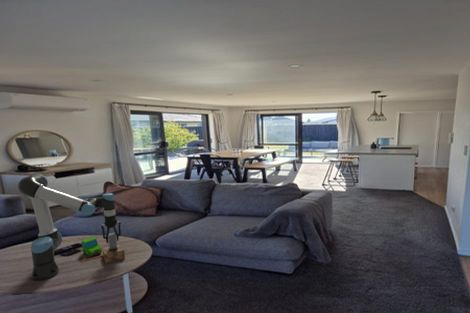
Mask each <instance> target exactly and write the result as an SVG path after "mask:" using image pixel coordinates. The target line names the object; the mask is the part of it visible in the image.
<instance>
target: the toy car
mask: <svg viewBox="0 0 470 313" xmlns="http://www.w3.org/2000/svg"><path fill="white" fill-rule="evenodd" d="M81 246H82V247H81V249H82V253H83V254H84V255H88V257H93V256H95V255H98V254H100V253H103V249H102V246H100V244H99V243H98V240H97V238H95V237H89V238H86V239H83V240H81Z"/></svg>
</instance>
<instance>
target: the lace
mask: <svg viewBox="0 0 470 313" xmlns="http://www.w3.org/2000/svg"><path fill="white" fill-rule="evenodd" d="M102 257H103V254H101V255H98V256H94V257H90V258H88V259H87V257H85V258H84V259H82V260H81V261H80V263H83V262H88V261H91V260H96V259H98V258H102Z"/></svg>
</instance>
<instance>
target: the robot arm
mask: <svg viewBox="0 0 470 313" xmlns="http://www.w3.org/2000/svg"><path fill="white" fill-rule="evenodd" d="M48 184H49V183H48V179H47V177H46V176H45V175H43V174H40V173H34V174H30V175H27V176H25V177H23V178H22V179H20V181H19V182H18V184H17V189H18V191H19V192H20V193H21V194H22V195H23V196H27V197H28V198H29V199H30V200H31V204H32V208H33V211H34V214H35V218H36V223H37V226H38V230H39V233H38V234H37V237H38V238H36V239H35V240H33V241H32V243H31V244H30V252H31V257H32V258H31V259H32V265H33V266H32V270H31V273H30V274H31V275H30V278H31V280H32V281H38V282H39V281H44V280H48V279H50V278H53V277H54V276H57V275H58V274H59V272H60V269H59V266H58V264H57V263H56V260H55V251H56V250H57V249H58V248H59V247H60V245H61V244H62V242H63V236H62V234H61V232H59V231H58V230H59V229H58V228H56V227H55V225H54V222H53V221H54V220H53V218H52V213H51V210H50V206H49V202H50V203H53V204H56V205H60V206H62V207H66V208H68V209H72V210H75V211H78V212H80V213H82V214H83V215H84V216H90V215H92V214H93V213H94V212H96V210H97V209H103V215H104V223H103V224H100V228H101V231H102V239H103V240H104V239H105V242H106V244H108V245H107V247H109V248H110V242H109V236H108V235H109V234H110V229H111V228H112V229H113V230H114V233H115V234H116V244H117V246H118V245H119V244H118V242H119V237H120V236H121V235H122V231H121V224H122V221H118V220H117V214H116V202H115V194H114V193H112V192H109V193H104V194H102V196H99V197H89V198H85V199H82V198H79V197H76V196H72V195H70V194H68V193H64V192H61V191H58V190H55V189H52V188H50V187H48ZM116 225H117V227H116ZM105 227H106V231H105ZM117 228H118V229H117ZM117 230H118V231H117ZM105 232H106V233H105Z"/></svg>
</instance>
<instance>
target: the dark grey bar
mask: <svg viewBox="0 0 470 313" xmlns="http://www.w3.org/2000/svg"><path fill="white" fill-rule="evenodd" d="M108 238H109V242H110V251H114V250H117V245H118V243H117V244H116V234H115V232H109V235H108Z"/></svg>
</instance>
